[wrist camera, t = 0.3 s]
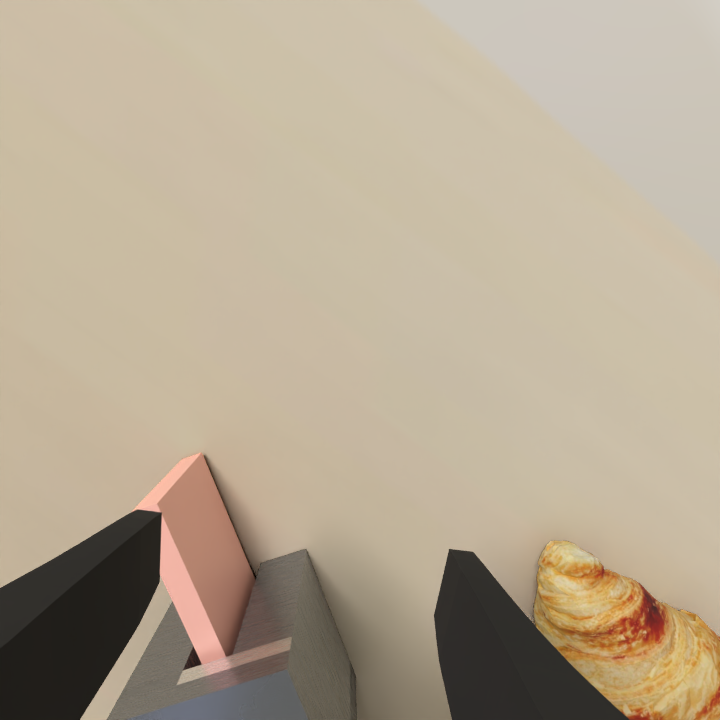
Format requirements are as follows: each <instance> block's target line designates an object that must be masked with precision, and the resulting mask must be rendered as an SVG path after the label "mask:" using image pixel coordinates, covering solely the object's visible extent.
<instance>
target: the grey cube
mask: <svg viewBox="0 0 720 720" xmlns="http://www.w3.org/2000/svg"><path fill="white" fill-rule="evenodd" d="M107 720H357V712H356V676H355V673H354V671H353V668H352V666H351V663H350V661H349V658H348V656H347V653H346V650H345V648H344V645H343V643H342V640H341V638H340V635H339V632H338V630H337V627H336V625H335V622H334V620H333V617H332V615H331V612H330V609H329V607H328V604H327V602H326V599H325V597H324V594H323V592H322V589H321V586H320V584H319V581H318V579H317V576H316V574H315V571H314V568H313V566H312V563H311V561H310V558H309V556H308V553H307V551H306V549H304V550H300V551H297V552H294V553H291V554H288V555H285V556H282V557H279V558H275V559H272V560H269V561H266V562H263V563H261V564H260V568H259V571H258V574H257V577H256V581H255V584H254V587H253V590H252V593H251V597H250V600H249V603H248V606H247V609H246V613H245V616H244V619H243V622H242V625H241V629H240V632H239V635H238V638H237V641H236V645H235V648H234V651H233V654H232V655H231V656H227V657H224V658H221V659H218V660H215V661H212V662H208V663H205V664H202V663H201V661H200V659H199V657H198V655H197V653H196V650H195V648H194V646H193V644H192V642H191V640H190V638H189V635H188V633H187V631H186V629H185V627H184V625H183V623H182V620H181V618H180V616H179V614H178V612H177V610H176V607H175V605H174V603H173V601H172V603H171V605H170V607H169V609H168V610H167V612H166V614H165V616H164V618H163V619H162V621H161V623H160V625H159V627H158V628H157V630H156V632H155V634H154V636H153V637H152V639H151V641H150V643H149V645H148V646H147V648H146V650H145V652H144V654H143V655H142V657H141V659H140V661H139V663H138V664H137V666H136V668H135V670H134V672H133V673H132V675H131V677H130V679H129V681H128V682H127V684H126V686H125V688H124V690H123V691H122V693H121V695H120V697H119V699H118V700H117V702H116V704H115V706H114V708H113V709H112V711H111V713H110V715H109V717H108V718H107Z"/></svg>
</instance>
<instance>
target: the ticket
mask: <svg viewBox="0 0 720 720" xmlns="http://www.w3.org/2000/svg"><path fill="white" fill-rule="evenodd" d="M137 509H139V510H147V511H155V512H162V523H161V553H160V575H161V577H162V580H163V582H164V584H165V586H166V588H167V590H168V592H169V595H170V597H171V599H172V601H173V603H174V605H175V607H176V610H177V612H178V614H179V616H180V618H181V620H182V623H183V625H184V627H185V629H186V631H187V633H188V635H189V638H190V640H191V642H192V644H193V646H194V648H195V650H196V653H197V655H198V657H199V659H200V661H201V663H202V664H205V663H208V662H212V661H215V660H218V659H221V658H224V657H227V656H231V655H232V654H233V651H234V648H235V645H236V641H237V638H238V635H239V632H240V629H241V625H242V622H243V619H244V616H245V613H246V609H247V606H248V603H249V600H250V597H251V593H252V590H253V587H254V584H255V581H256V580H255V578H254V575H253V573H252V571H251V568H250V566H249V563H248V561H247V559H246V556H245V554H244V552H243V549H242V547H241V544H240V542H239V540H238V537H237V535H236V533H235V530H234V528H233V525H232V523H231V521H230V518H229V516H228V514H227V511H226V509H225V506H224V504H223V502H222V499H221V497H220V494H219V492H218V490H217V487H216V485H215V483H214V480H213V478H212V475H211V473H210V471H209V468H208V466H207V464H206V461H205V459H204V456H203V454H202V453H199V454H196V455H193V456H189V457H186V458H183V459H182V460H181V461H180V462H179V463H178V464H177V465H176V466H175V467H174V468H173V469H172V470H171V471H170V472H169V473H168V474H167V475H166V476H165V477H164V478H163V479H162V480H161V481H160V482H159V483H158V484H157V486H156V487H155V488H154V489H153V490H152V491H151V492H150V493H149V494H148V495H147V496H146V497H145V498H144V499H143V500H142V501H141V502H140V503H139V504H138V505H137V506H136V507H135V508H134V509H133V511H135V510H137ZM133 511H132V512H133Z"/></svg>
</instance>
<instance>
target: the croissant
mask: <svg viewBox="0 0 720 720" xmlns="http://www.w3.org/2000/svg"><path fill="white" fill-rule="evenodd" d="M538 565H539V566H540V567H539V571H538V574H537V582H538V589H537V595H536V599H535V604H534V619H535V624H536V627H537V629H538V630H539V631H540V632H541V633H542V634H543V635H544V636H545V637H546V638H547V640H548V641H549V642H550V643H551V644H552V645H553V646H554V647H555V648H556V649H557V650H558V651H559V652H560V653H561V654H562V655H563V656H564V657H565V659H566V660H567V661H568V662H569V663H570V664H571V665H572V666H573V667H574V668H575V669H576V670H577V671H578V672H579V673H580V674H581V675H582V676H583V677H584V678H585V679H586V680H587V681H589V682H590V683H591V684H592V685H593V686H594V687H595V688H596V689H597V690H598V691H599V692H600V693H601V694H602V695H603V696H604V697H606V698H607V699H608V700H609V701H610V702H611V703H612V704H613V705H614V706H615V707H616V708H617V709H618V710H620V711H621V712H622V713H623V714H624V715H625V716H626V717H628V718H629V719H630V720H720V637H719V636H717V635H716V634H715V632H714V631H712V630H711V629H710V628H709V627H708V626H707V625H706V624H705V623H704V622H703V621H702V620H701V619H700V618H699V617H698V616H697V615H696V614H694V613H691V612H688V611H685V610H682V609H681V611H678V610H676V609H674V608H672V607H670V606H669V605H668V604H666V603H660V602H658V601H657V600H656V599H655V598H653V597H652V596H651V595H650V594H649V593H648V591H647V590H646V589H645V588H644V587H643V586H642V585H641V584H640V583H638V582H636V581H635V580H633V579H631V578H627V577H624V576H621V575H619V574H617V573H614V572H612V571H610V570H604V569H603V566H602V564H601V563H600V561H599V560H598V559H597V558H596V557H595V556H593V555H592V554H591V553H588V552H586V551H584V550H582V549H581V548H579V547H578V546H577V545H576V544H574V543H571V542H569V541H551V542H549V543H548V544H547V545H546V547H545V549H544V550H543V552H542V554H541V556H540V558H539V561H538Z"/></svg>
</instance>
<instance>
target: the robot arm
mask: <svg viewBox="0 0 720 720" xmlns="http://www.w3.org/2000/svg"><path fill="white" fill-rule="evenodd" d="M161 523H162V512H155V511H147V510H139V509H137V510H135V511H133V512H131V513H129V514H128V515H126V516H124V517H123V518H121V519H119V520H118V521H116V522H114V523H113V524H111V525H109V526H108V527H106V528H104V529H103V530H101V531H99V532H98V533H96V534H94V535H93V536H91V537H90V538H88V539H86V540H85V541H83V542H81V543H79V544H78V545H76V546H74V547H73V548H71V549H69V550H68V551H66V552H64V553H63V554H61V555H59V556H58V557H56V558H54V559H52V560H51V561H49V562H47V563H45V564H43V565H42V566H40V567H38V568H36V569H34V570H32V571H31V572H29V573H27V574H25V575H23V576H21V577H20V578H18V579H16V580H14V581H12V582H10V583H9V584H7V585H5V586H3V587H1V588H0V720H80V718H81V717H82V715H83V714H84V712H85V711H86V709H87V707H88V706H89V704H90V703H91V701H92V699H93V698H94V696H95V695H96V693H97V691H98V690H99V688H100V687H101V685H102V683H103V682H104V680H105V679H106V677H107V675H108V674H109V672H110V671H111V669H112V668H113V666H114V664H115V663H116V661H117V660H118V658H119V656H120V655H121V653H122V651H123V650H124V648H125V647H126V645H127V643H128V642H129V640H130V639H131V637H132V635H133V634H134V632H135V630H136V629H137V627H138V625H139V624H140V622H141V620H142V618H143V615H144V613H145V611H146V609H147V607H148V605H149V603H150V601H151V599H152V597H153V595H154V593H155V590H156V588H157V586H158V584H159V582H160V553H161ZM434 619H435V629H436V639H437V647H438V655H439V662H440V667H441V672H442V676H443V681H444V685H445V690H446V694H447V699H448V703H449V708H450V712H451V717H452V720H630V719H629V718H628V717H626V716H625V715H624V714H623V713H622V712H621V711H620V710H618V709H617V708H616V707H615V706H614V705H613V704H612V703H611V702H610V701H609V700H608V699H607V698H606V697H604V696H603V695H602V694H601V693H600V692H599V691H598V690H597V689H596V688H595V687H594V686H593V685H592V684H591V683H590V682H589V681H587V680H586V679H585V678H584V677H583V676H582V675H581V674H580V673H579V672H578V671H577V670H576V669H575V668H574V667H573V666H572V665H571V664H570V663H569V662H568V661H567V660H566V659H565V657H564V656H563V655H562V654H561V653H560V652H559V651H558V650H557V649H556V648H555V647H554V646H553V645H552V644H551V643H550V642H549V641H548V640H547V638H546V637H545V636H544V635H543V634H542V633H541V632H540V631H539V630H538V629H537V627H536V626H535V625H534V624H533V623H532V622H531V621H530V619H529V618H528V617H527V616H526V615H525V614H524V613H523V611H522V610H521V609H520V608H519V607H518V606H517V604H516V603H515V602H514V601H513V600H512V598H511V597H510V596H509V595H508V594H507V592H506V591H505V590H504V589H503V588H502V586H501V585H500V584H499V583H498V582H497V580H496V579H495V578H494V577H493V575H492V574H491V573H490V572H489V570H488V569H487V568H486V567H485V566H484V564H483V563H482V562H481V561H480V559H479V558H478V557H477V556H476V555H475V554H474V552H469V551H461V550H453V549H449V553H448V557H447V561H446V566H445V570H444V574H443V579H442V583H441V588H440V592H439V596H438V601H437V605H436V609H435V614H434Z"/></svg>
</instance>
